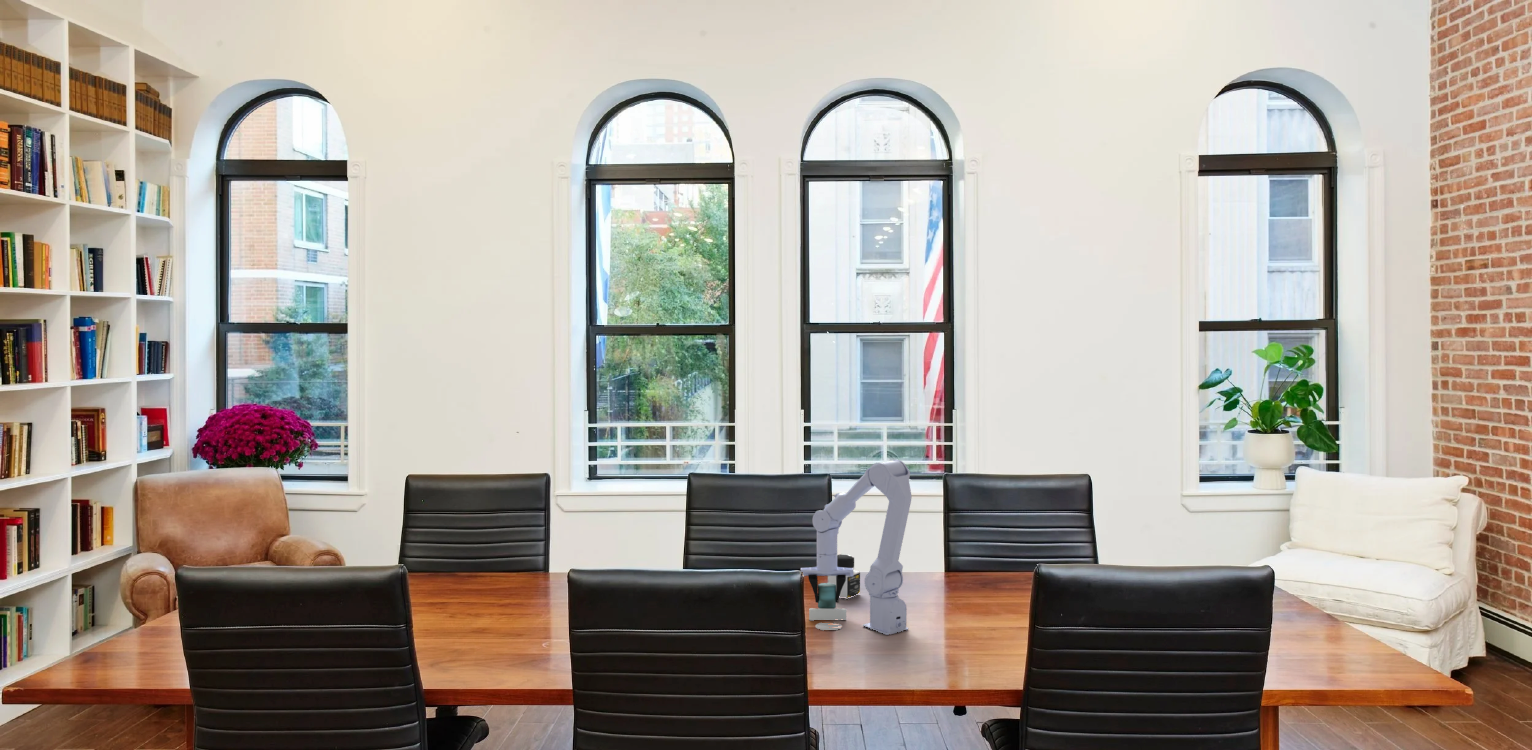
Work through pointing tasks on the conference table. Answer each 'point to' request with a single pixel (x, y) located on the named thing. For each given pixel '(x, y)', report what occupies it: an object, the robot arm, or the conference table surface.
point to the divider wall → (826, 614)
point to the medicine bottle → (851, 583)
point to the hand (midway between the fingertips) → (826, 601)
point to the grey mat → (827, 626)
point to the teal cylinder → (827, 596)
